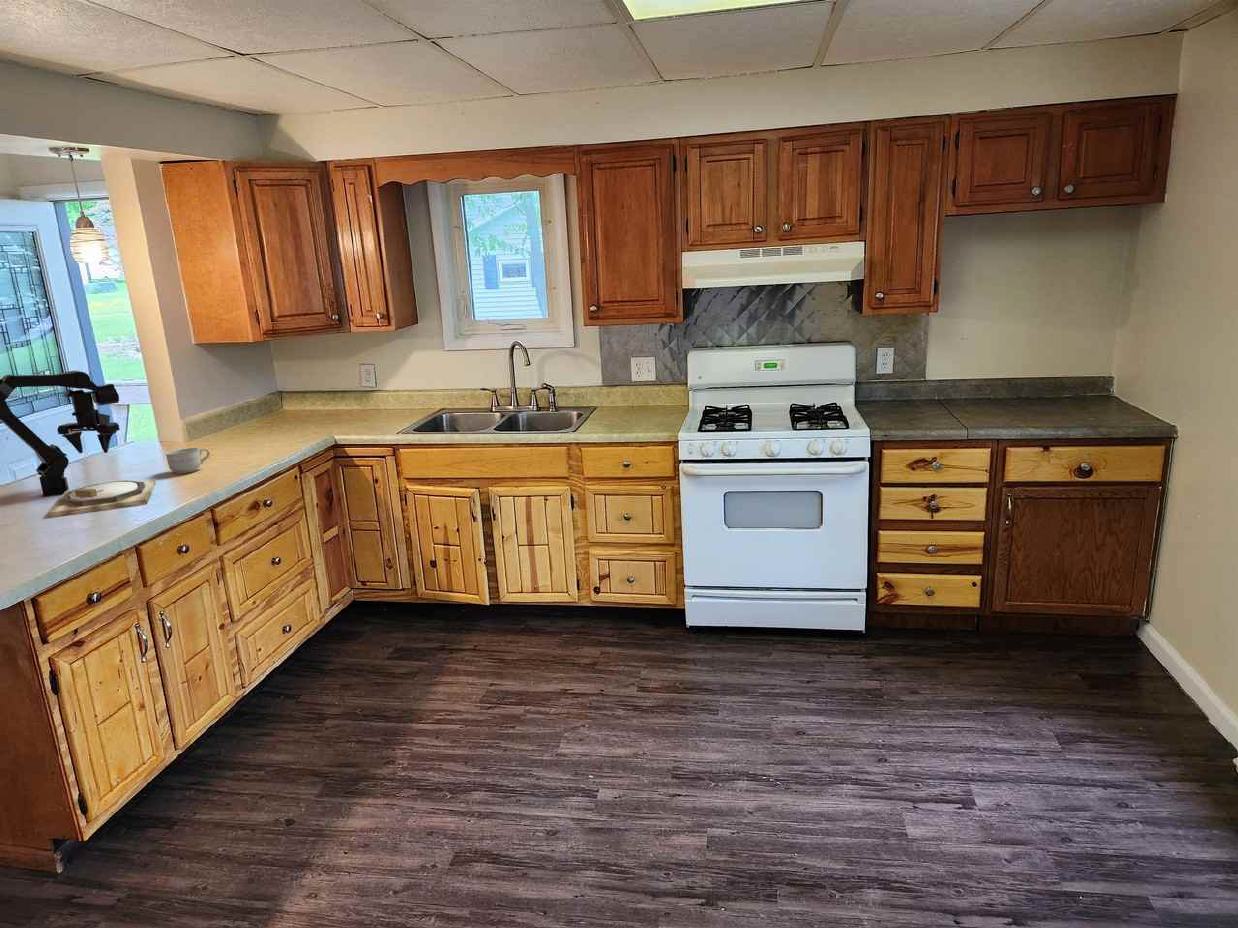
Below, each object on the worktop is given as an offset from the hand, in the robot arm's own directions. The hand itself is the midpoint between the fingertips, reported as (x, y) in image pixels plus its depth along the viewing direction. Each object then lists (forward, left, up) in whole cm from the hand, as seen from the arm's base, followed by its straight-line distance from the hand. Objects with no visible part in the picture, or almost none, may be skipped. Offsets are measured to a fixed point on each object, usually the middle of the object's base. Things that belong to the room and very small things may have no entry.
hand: (93, 452), depth 274 cm
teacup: (+28, +2, -11) cm, 30 cm away
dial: (+5, -24, -9) cm, 26 cm away
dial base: (+5, -24, -11) cm, 27 cm away
